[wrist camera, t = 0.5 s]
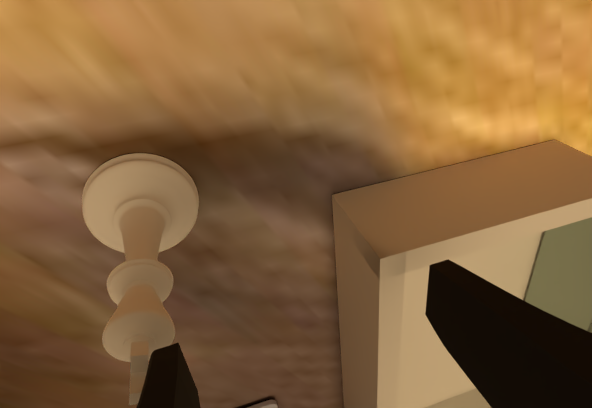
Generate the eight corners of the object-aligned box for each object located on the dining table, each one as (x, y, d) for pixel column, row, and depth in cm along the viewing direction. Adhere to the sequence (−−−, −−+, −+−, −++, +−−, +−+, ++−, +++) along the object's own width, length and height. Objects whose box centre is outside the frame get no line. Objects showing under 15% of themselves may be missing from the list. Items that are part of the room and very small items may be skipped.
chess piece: (84, 248, 19) (35, 473, 11) (79, 148, 17) (12, 337, 8) (194, 246, 21) (224, 440, 12) (203, 156, 18) (246, 319, 10)
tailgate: (510, 375, 34) (560, 433, 30) (502, 378, 34) (551, 437, 30) (571, 176, 24) (659, 222, 20) (560, 179, 24) (646, 226, 19)
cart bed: (493, 370, 36) (542, 430, 32) (344, 425, 33) (375, 498, 29) (554, 139, 24) (647, 182, 20) (331, 194, 21) (380, 258, 17)
